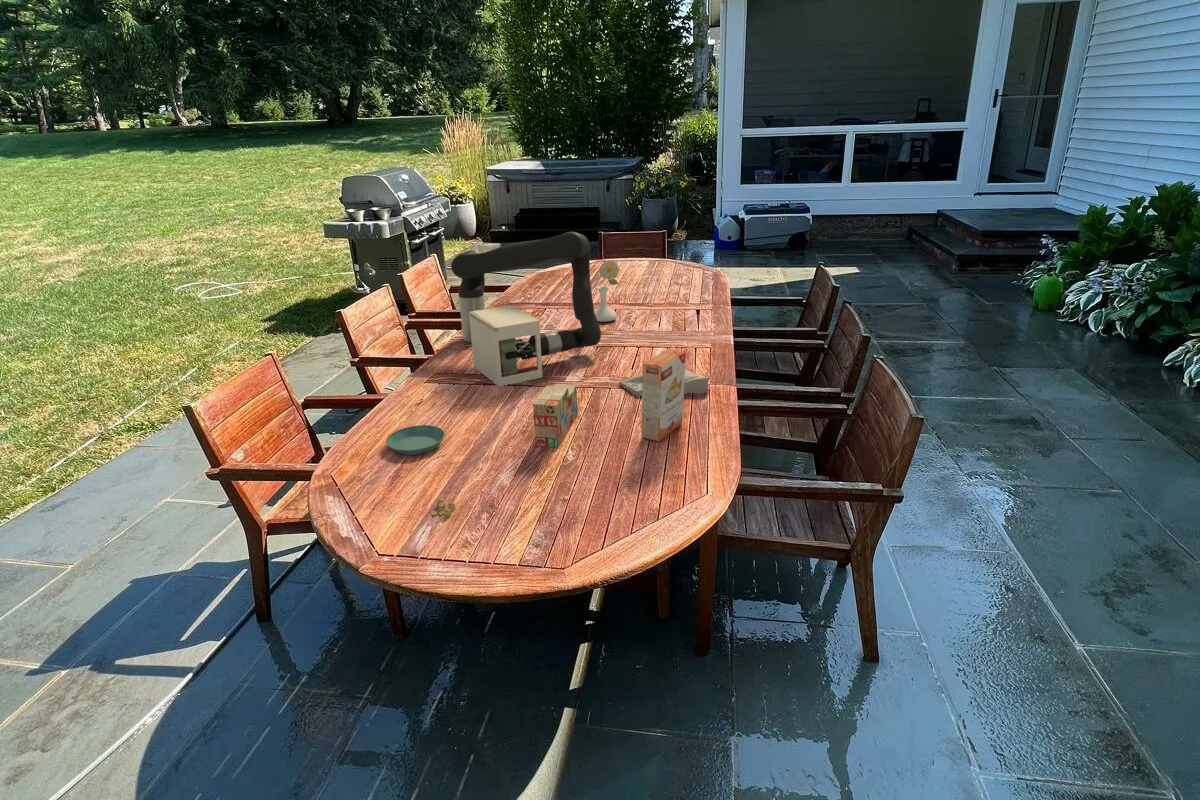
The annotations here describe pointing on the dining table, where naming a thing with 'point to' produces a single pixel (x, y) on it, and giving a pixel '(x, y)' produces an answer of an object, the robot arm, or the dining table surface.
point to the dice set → (442, 508)
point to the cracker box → (662, 394)
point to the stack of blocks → (554, 414)
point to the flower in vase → (607, 272)
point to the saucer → (415, 439)
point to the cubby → (501, 326)
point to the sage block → (505, 347)
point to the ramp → (691, 383)
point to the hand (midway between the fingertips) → (501, 352)
